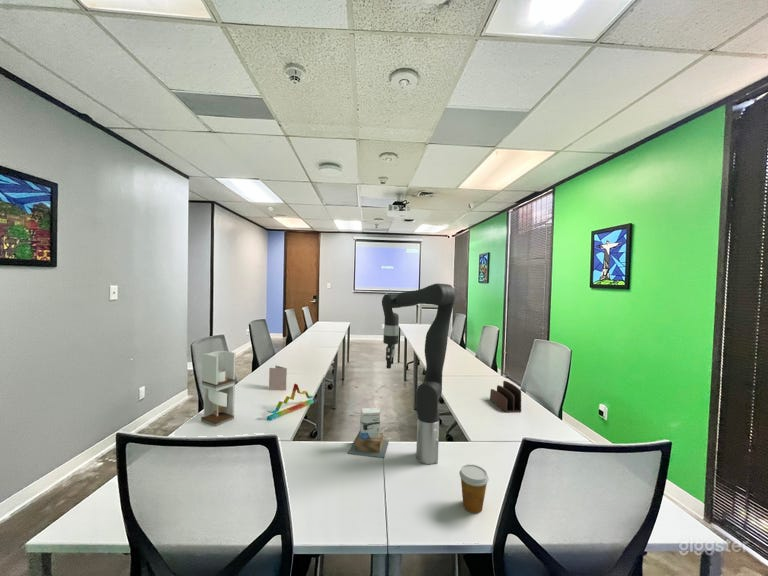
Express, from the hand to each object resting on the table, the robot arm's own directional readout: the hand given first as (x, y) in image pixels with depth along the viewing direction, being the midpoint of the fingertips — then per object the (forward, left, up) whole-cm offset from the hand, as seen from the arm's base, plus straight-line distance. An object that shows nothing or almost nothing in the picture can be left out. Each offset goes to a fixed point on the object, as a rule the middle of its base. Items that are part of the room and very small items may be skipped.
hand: (390, 366), depth 156 cm
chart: (+57, -12, -34) cm, 67 cm away
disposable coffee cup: (-36, +46, -33) cm, 67 cm away
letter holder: (-67, -50, -34) cm, 90 cm away
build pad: (+6, +17, -33) cm, 38 cm away
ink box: (+6, +17, -28) cm, 33 cm away
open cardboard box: (+6, +17, -33) cm, 37 cm away
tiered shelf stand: (+89, +8, -33) cm, 95 cm away
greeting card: (+82, -41, -33) cm, 98 cm away
